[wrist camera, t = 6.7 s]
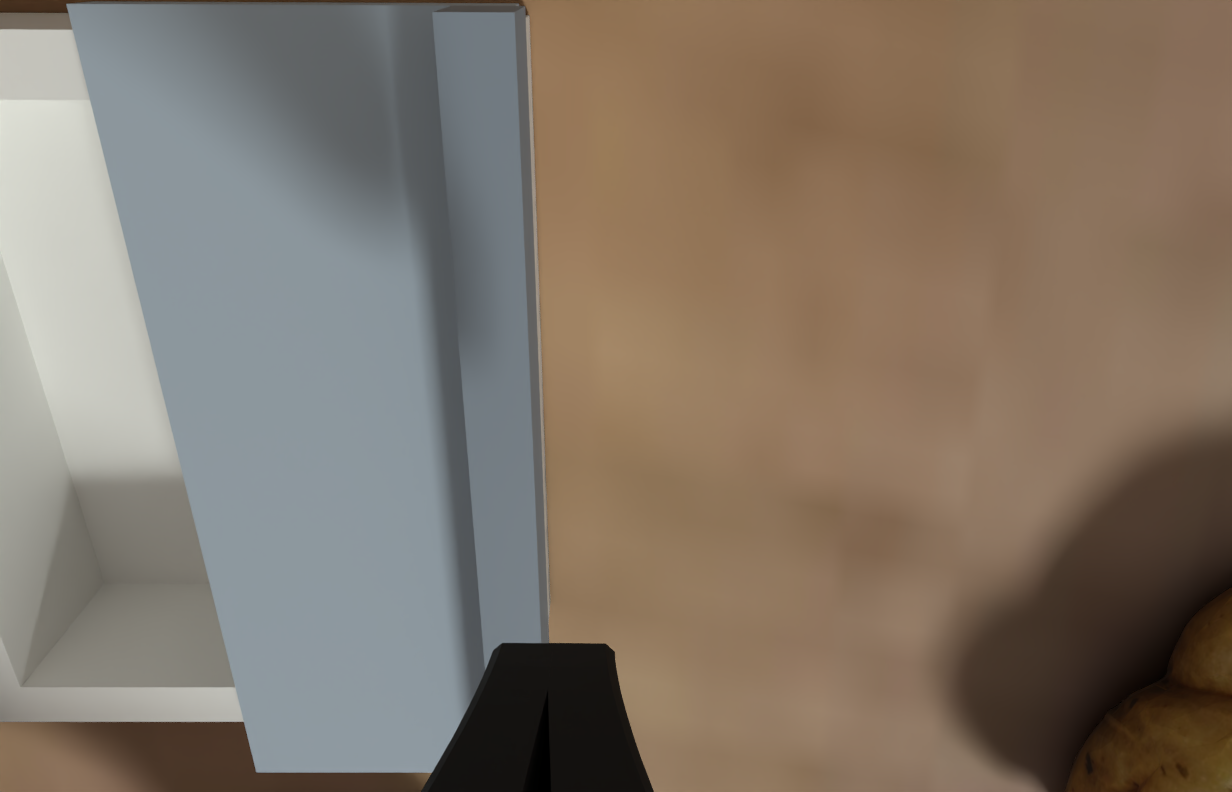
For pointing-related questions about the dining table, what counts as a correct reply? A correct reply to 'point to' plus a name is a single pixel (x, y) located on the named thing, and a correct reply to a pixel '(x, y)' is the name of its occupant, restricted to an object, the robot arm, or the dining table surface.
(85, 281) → the carton
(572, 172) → the dining table surface
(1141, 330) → the dining table surface
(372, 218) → the flap
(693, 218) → the dining table surface
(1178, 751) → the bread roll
